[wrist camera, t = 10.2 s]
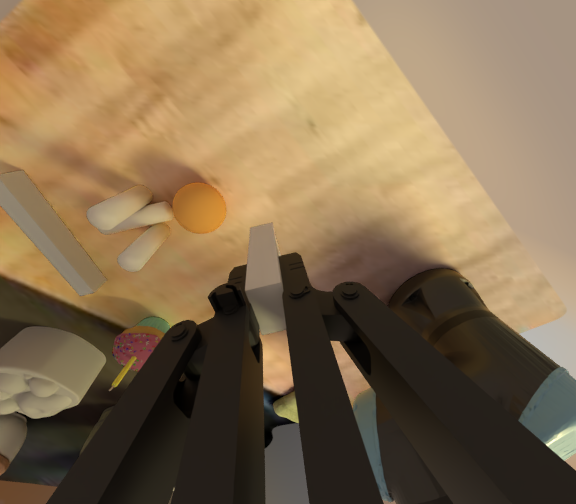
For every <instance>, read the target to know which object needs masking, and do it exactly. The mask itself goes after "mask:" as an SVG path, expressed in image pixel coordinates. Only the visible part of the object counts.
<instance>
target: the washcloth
mask: <svg viewBox="0 0 576 504" xmlns="http://www.w3.org/2000/svg"><path fill="white" fill-rule="evenodd" d="M273 407H274V410H275V412H276V414H277V415H279V416H281V417H286V418H288V419H290V420H291V421H294V422H297V423H299V420H298V413H297V405H296V398H295V390H294V392H292V393H290V394H289V395H285V396H283V397H282V398H280V399H278V400H276V401H275V402H274V403H273Z"/></svg>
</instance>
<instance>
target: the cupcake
mask: <svg viewBox="0 0 576 504" xmlns="http://www.w3.org/2000/svg"><path fill="white" fill-rule="evenodd" d="M169 329H170V326H169V324H168V323H167V322H166V321H165V320H163V319H161V318H157V317H149V318H145V319H144V320H142V321H141V322H140V323H139V324H137V325H136V326H135V327H133V328H130V329H126V330H125V331H124V332H123V333H121V334H120V335H118V336H117V337H116V339H115V341H114V346H113V349H112V351H113V352H112V353H113V354H114V355H113V356H114V359H115V360H116V361H118V363H119V364H121V365H122V366H124V368H123V370H122V371H121V372H120V374H119V375H118V376H117V378H116V379H115V381H114V382H113V383H112V387H111V388H110V389H109V391H111V390H112V388H113V387H116V386H117V385H118V384H119V383H120V381H121V380H122V378H123V377H124V375H125V374H126V373H127V371H128V370H129V369H130V370H135V371H138V372H139V370H140V369H141V367H142V366H143V365H144V363H145V362H146V360H147V359H148V357H149V356H150V355H151V353H152V352H153V350H154V349H155V347H156V346H157V345H158V343H159V342H160V340H161V339H162V337H163V336H164V335H165V333H166V332H167V331H168V330H169Z"/></svg>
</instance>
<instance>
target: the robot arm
mask: <svg viewBox="0 0 576 504" xmlns="http://www.w3.org/2000/svg"><path fill="white" fill-rule="evenodd" d="M228 280H229V281H228V283H226V284H223V285H220V286H219V287H217V288H215V289H214V290H213V291H212V292H211V293H210V294H209V296H208V299H209V301H210V303H211V305H212V307H213V309H214V311H215V316H214V317H213V318H211V319H209V320H208V321H205V322H203V323H201V324H199V325H197V324H196V323H195V322H194V321H191V320H186V321H182V322H180V323H177V324H175V325H174V326H173V327H171V328H170V329H169V330H168V331H167V332H166V333H165V335H164V336H163V337H162V339H161V340H160V342H159V343H158V345H157V346H156V347H155V349H154V350H153V352H152V353H151V355H150V356H149V357H148V359H147V360H146V362H145V363H144V365H143V366H142V367H141V369H140V370H139V372H138V373H137V375H136V376H135V377H134V379H133V380H132V382H131V383H130V385H129V386H128V387H127V389H126V390H125V392H124V393H123V395H122V396H121V397H120V399H119V400H118V402H117V403H116V405H115V406H114V407H113V409H112V410H111V412H110V413H109V415H108V416H107V417H106V419H105V420H104V422H103V423H102V425H101V426H100V427H99V429H98V430H97V432H96V433H95V435H94V436H93V437H92V439H91V440H90V442H89V443H88V445H87V446H86V447H85V449H84V450H83V452H82V453H81V455H80V456H79V457H78V459H77V460H76V462H75V463H74V465H73V466H72V467H71V469H70V470H69V472H68V473H67V475H66V476H65V477H64V479H63V480H62V482H61V483H60V485H59V486H58V487H57V489H56V490H55V492H54V493H53V495H52V496H51V497H50V499H49V500H48V502H47V503H46V504H168V503H169V500H170V497H171V495H172V492H173V490H174V493H173V496H172V501H171V504H265V460H264V459H265V455H264V401H263V349H262V342H261V339H260V337H259V329H260V331H261V334H262V335H266V334H270V333H274V332H278V331H283V330H287V337H288V345H289V352H290V360H291V367H292V375H293V382H294V390H295V398H296V405H297V413H298V420H299V428H300V435H301V442H302V451H303V458H304V465H305V473H306V480H307V488H308V496H309V503H310V504H384V503H383V500H385V501H389V502H392V501H394V500H395V502H396V504H576V471H575V470H574V469H573V468H572V467H571V466H570V465H568V464H567V463H566V462H565V461H564V460H566V459H567V458H569V457H571V456H572V455H574V454H575V453H576V380H575V379H574V378H573V377H572V376H570V375H569V373H568V371H567V370H566V369H565V368H563V367H560V366H559V365H558V364H556V363H555V362H554V361H553V360H551V359H550V358H549V357H547V356H546V355H545V354H543V353H542V352H541V351H540V350H539V349H537V348H536V347H535V346H533V345H532V344H531V343H530V342H528V341H527V340H526V339H525V338H523V337H522V336H521V335H519V334H518V333H517V332H516V331H514V330H513V329H512V328H511V327H509V326H508V325H507V324H505V323H504V322H503V321H502V320H500V319H499V318H498V317H496V316H495V315H494V314H493V313H492V312H490V311H489V310H488V308H487V307H486V305H485V304H484V302H483V301H482V299H481V297H480V296H479V294H478V293H477V292H476V290H475V289H474V287H473V285H472V284H471V283H470V282H469V281H468V280H467V279H466V278H465V277H463V276H462V275H460V274H459V273H458V272H456V271H454V270H451V269H444V268H440V269H432V270H428V271H425V272H423V273H420V274H418V275H416V276H414V277H412V278H411V279H409V280H408V281H407V282H405V283H404V284H403V285H402V286H401V287H400V288H399V289H398V290H397V291H396V292H395V294H394V295H393V297H392V299H391V301H390V303H389V307H387V306H386V305H385V304H384V303H383V302H382V301H381V300H379V299H378V298H377V297H376V296H375V295H374V294H373V293H371V292H370V291H369V290H368V289H367V288H366V287H365V286H363V285H361V284H360V283H356V282H344V283H341V284H339V285H337V286H336V287H335V288H334V290H333V292H324V291H319V290H316V289H314V288H313V287H312V286H311V284H310V282H309V279H308V276H307V273H306V270H305V267H304V264H303V261H302V258H301V256H300V255H299V254H297V253H296V252H295V253H291V254H287V255H282V256H281V254H280V250H279V246H278V242H277V238H276V234H275V231H274V227H273V223H268V224H264V225H259V226H255V227H251V228H250V237H249V248H248V260H247V265H243V266H238V267H234V269H233V270H232V271H231V272H230V274H229V279H228ZM330 341H340V343H341V345H342V346H343V348H344V349H345V351H346V352H347V353H348V355H349V356H350V358H351V359H352V360H353V362H354V363H355V365H356V366H357V368H358V369H359V370H360V372H361V373H362V375H363V376H364V378H365V379H366V380H367V382H368V383H369V385H370V386H371V388H369V389H367V390H365V391H363V392H362V393H360V394H358V395H357V397H356V398H355V401H354V404H353V409H352V406H351V403H350V400H349V397H348V394H347V391H346V388H345V385H344V382H343V379H342V376H341V372H340V369H339V366H338V363H337V360H336V357H335V354H334V351H333V348H332V345H331V342H330ZM183 373H184V374H183ZM182 374H183V376H182ZM181 376H182V378H181ZM180 378H181V379H180ZM174 487H175V488H174ZM382 499H383V500H382Z"/></svg>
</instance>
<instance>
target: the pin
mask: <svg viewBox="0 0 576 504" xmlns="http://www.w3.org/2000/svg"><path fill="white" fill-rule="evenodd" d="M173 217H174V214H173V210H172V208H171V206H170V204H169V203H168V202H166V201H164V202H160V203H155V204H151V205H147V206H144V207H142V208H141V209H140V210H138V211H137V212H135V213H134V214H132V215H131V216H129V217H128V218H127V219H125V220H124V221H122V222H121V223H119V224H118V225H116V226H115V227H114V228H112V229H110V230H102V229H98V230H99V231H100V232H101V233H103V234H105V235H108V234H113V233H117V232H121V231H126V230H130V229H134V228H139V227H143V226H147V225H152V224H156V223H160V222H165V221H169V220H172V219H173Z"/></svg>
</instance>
